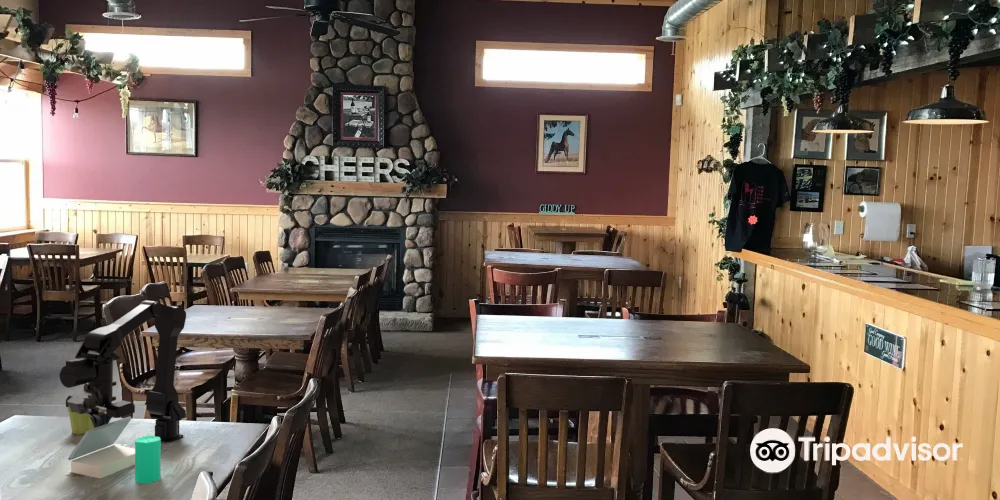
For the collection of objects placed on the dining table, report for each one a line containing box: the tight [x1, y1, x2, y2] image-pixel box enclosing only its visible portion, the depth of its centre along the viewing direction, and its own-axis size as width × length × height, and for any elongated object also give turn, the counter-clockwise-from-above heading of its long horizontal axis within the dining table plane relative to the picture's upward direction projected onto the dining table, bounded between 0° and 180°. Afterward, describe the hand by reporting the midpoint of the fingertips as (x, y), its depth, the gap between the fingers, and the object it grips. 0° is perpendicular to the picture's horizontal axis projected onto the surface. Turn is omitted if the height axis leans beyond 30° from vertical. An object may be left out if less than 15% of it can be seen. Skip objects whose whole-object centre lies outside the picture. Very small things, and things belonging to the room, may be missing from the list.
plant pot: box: [66, 407, 94, 435], centre depth 231 cm, size 9×9×9 cm
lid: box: [67, 415, 133, 461], centre depth 205 cm, size 14×11×1 cm
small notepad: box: [70, 444, 135, 479], centre depth 205 cm, size 14×10×3 cm
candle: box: [134, 434, 162, 484], centre depth 197 cm, size 6×6×12 cm
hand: (99, 435), depth 205 cm, fingers closed
